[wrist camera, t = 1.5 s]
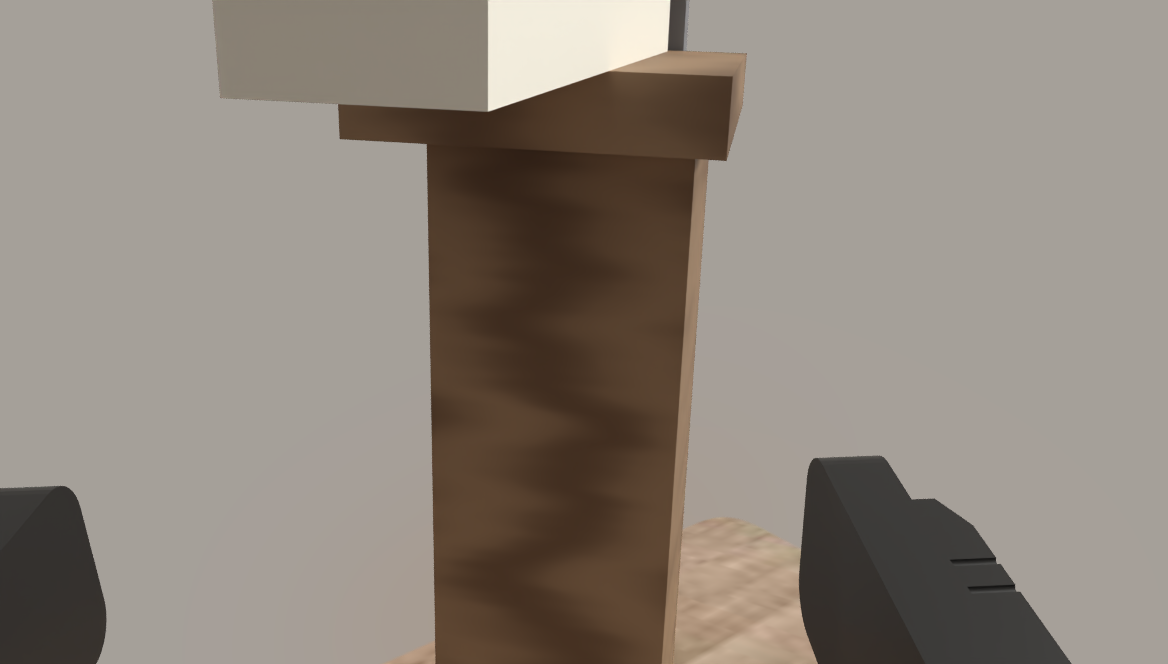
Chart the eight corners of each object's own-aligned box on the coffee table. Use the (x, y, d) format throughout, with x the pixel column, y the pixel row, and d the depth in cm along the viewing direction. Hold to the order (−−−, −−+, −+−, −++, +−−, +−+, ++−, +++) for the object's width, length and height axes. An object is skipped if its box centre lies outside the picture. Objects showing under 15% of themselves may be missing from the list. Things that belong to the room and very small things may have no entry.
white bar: (200, 231, 15) (160, -211, 13) (566, 93, 42) (570, -58, 40) (521, 255, 14) (527, -213, 12) (683, 99, 41) (692, -55, 39)
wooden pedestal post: (297, 979, 35) (227, 54, 26) (437, 693, 50) (427, 40, 41) (748, 1069, 33) (862, 82, 23) (754, 739, 48) (825, 56, 38)
